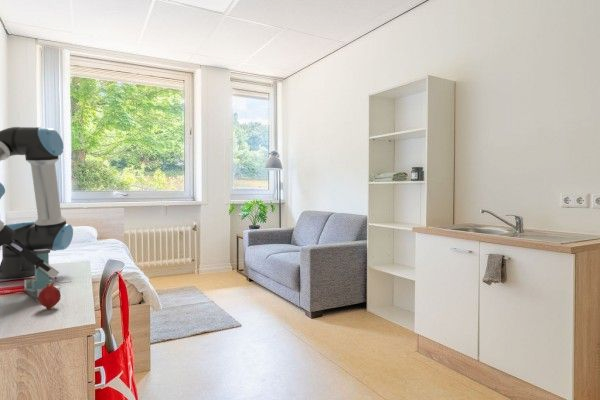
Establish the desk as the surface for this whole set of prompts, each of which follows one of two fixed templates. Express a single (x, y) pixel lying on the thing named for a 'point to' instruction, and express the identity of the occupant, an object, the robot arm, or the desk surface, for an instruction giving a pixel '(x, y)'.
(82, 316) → the desk surface
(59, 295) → the onion
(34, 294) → the rail
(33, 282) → the carriage
